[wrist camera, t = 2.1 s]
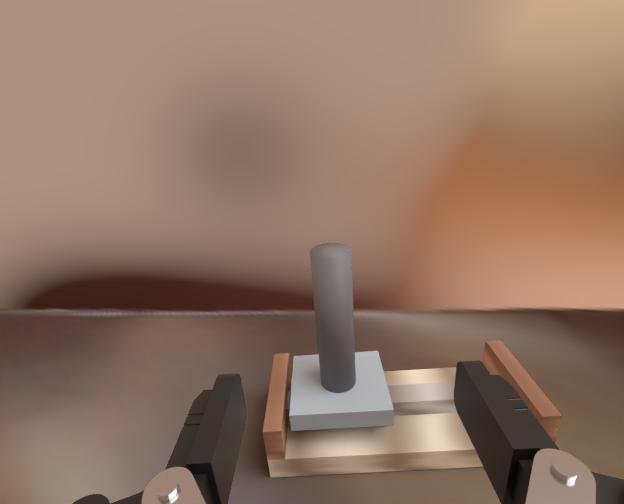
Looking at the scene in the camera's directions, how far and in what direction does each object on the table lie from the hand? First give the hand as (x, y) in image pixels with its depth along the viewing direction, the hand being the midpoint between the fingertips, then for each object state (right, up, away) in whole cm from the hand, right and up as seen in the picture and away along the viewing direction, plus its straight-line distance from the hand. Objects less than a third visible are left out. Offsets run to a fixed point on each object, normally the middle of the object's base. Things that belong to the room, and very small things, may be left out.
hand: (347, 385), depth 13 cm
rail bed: (+6, -11, +19) cm, 23 cm away
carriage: (+1, -9, +18) cm, 20 cm away
